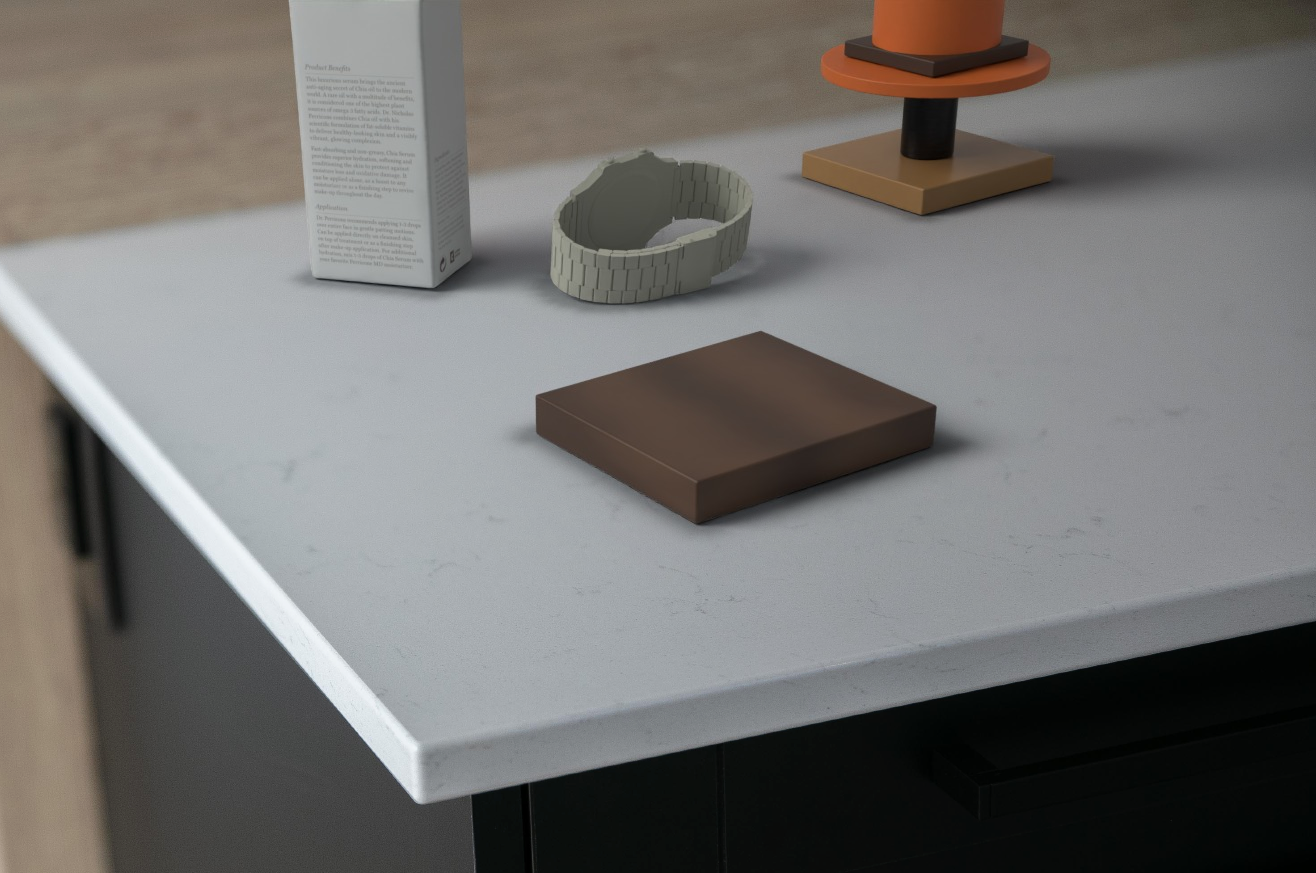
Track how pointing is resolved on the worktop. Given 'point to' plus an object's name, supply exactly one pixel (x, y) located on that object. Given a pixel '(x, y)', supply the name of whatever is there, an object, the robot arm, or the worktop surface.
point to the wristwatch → (648, 228)
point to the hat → (936, 52)
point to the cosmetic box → (383, 138)
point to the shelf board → (733, 424)
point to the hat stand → (927, 162)
